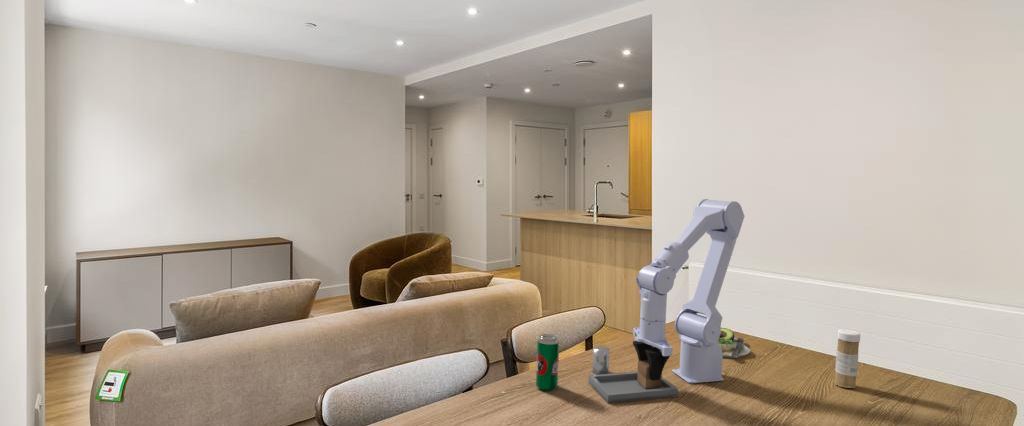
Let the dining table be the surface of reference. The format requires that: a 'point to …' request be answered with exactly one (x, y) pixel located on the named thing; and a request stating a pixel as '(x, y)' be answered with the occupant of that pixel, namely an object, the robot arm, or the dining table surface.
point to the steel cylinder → (600, 360)
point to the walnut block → (646, 376)
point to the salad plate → (731, 345)
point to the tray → (628, 388)
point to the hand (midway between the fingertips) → (650, 375)
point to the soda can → (547, 362)
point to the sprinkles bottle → (847, 358)
